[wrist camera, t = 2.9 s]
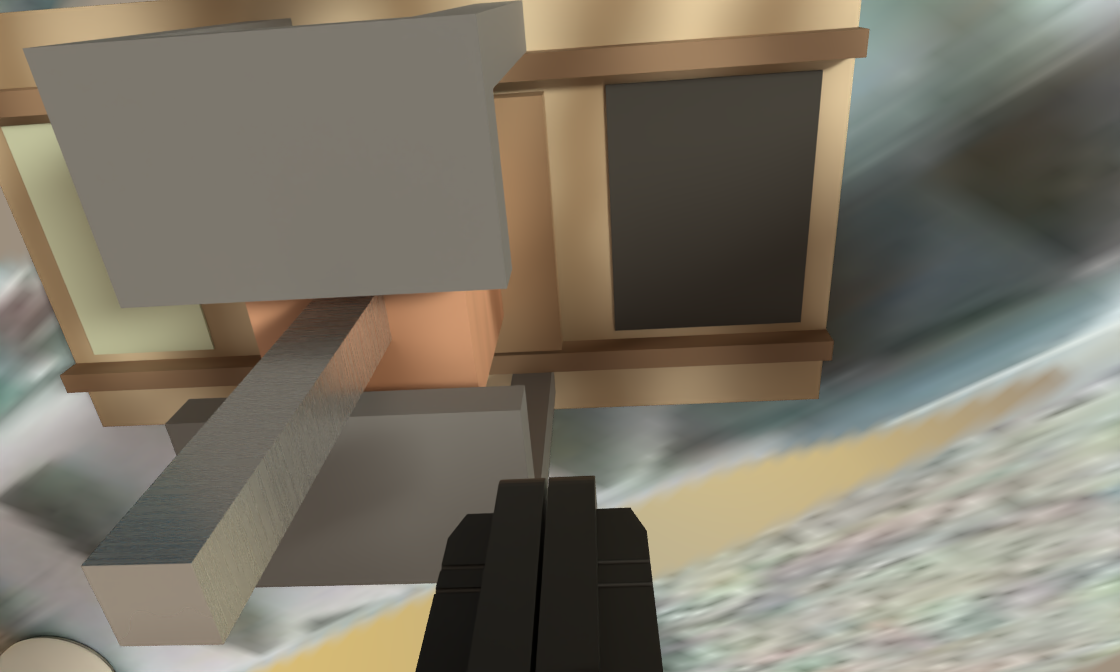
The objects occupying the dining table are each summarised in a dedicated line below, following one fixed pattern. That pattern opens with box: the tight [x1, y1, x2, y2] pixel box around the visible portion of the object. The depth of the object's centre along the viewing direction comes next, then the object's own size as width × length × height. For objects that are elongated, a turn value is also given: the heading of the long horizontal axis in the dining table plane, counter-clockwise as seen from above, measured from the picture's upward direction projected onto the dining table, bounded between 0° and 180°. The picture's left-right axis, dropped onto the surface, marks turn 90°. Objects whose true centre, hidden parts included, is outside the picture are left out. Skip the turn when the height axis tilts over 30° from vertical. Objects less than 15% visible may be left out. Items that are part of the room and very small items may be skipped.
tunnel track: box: [0, 0, 869, 587], centre depth 22 cm, size 30×16×12 cm, turn 94°
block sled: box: [81, 91, 563, 646], centre depth 18 cm, size 10×9×17 cm
